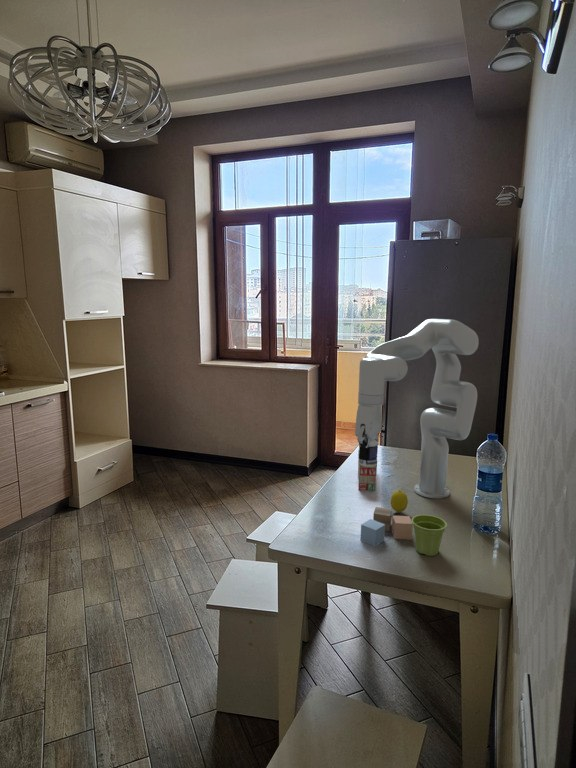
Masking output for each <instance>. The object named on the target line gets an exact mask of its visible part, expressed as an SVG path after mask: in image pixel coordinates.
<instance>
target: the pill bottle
mask: <svg viewBox="0 0 576 768" xmlns="http://www.w3.org/2000/svg"><path fill="white" fill-rule="evenodd" d="M364 437H367V435H364ZM375 439H376V435H375V436H373V437H372V438H370V442H369V448H370V457H369V460H368V461H366V460H361V459H359V464H360V465H362V466H366V467H373V466H376V464H377V465H378V452H377V447H378V448H379V446H378V445H379V442H377V441H376V440H375ZM364 440H365V441H367V439H364Z"/></svg>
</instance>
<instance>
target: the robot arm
mask: <svg viewBox="0 0 576 768" xmlns="http://www.w3.org/2000/svg"><path fill="white" fill-rule="evenodd" d="M479 342H480V341H479V336H478V334H477V332H476V331H475V330H473V329H472V328H470V327H469V326H468V325H466V324H464V323H463V322H461V321H459V320H456V319H451V318H450V319H449V318H428V319H425V320H424V321H423V322H421V323H420V324H418V325H417V326H416V327H415V328H414V329H412V330H411V331H410V332H408V333H407V334H406V335H404V336H401V337H398V338H395V339H392V340H389V341H386V342H384V343H381V344H379V345H377V346H376V347H374V348H373V349H372V350H370V351H369V352H368V353H367V354H366V355H365V356H364V357H363V358H361V359H360V361H359V368H358V369H359V370H358V371H359V373H358V395H357V396H358V397H357V404H358V405H357V411H356V417H355V426H354V427H355V428H354V435H355V437H356V440H357V442H358V452H359V459H361V460H366V461H368V460H369V457H370V448H369V442H370V438H372V437H373V436H375V435H376V439H375V440H376V441H377V443H379V441H380V440H379V436H380V433H381V431H382V425H383V407H382V406H383V405H384V400H385V399H384V398H385V382H397V381H401V380H402V379H404V378H405V377H406V375H407V374H408V370H409V369H408V364H407V362H406V361H410V360H411V361H412V360H416V359H420V358H422V357H424V355H425V354H427V352H429V351H430V350H431V351H432V352H433V354H434V358H435V362H436V363H435V365H436V366H435V372H434V376H433V381H432V386H431V390H430V391H431V392H430V398H431V401H432V402H433V403H435V404H438V405H441V406H445V407H451V408H455V409H456V411H454V410H449V409H444V408H439V407H428V408H426V409H424V410H423V411H422V412H421V414H420V419H419V420H420V421H419V423H420V424H419V425H420V432H421V446H420V447H421V448H420V458H419V459H420V462H419V475H418V476H419V477H418V483H416V484H414V485H413V486H414V487H413V491H414V492H415V493H416V495H419V496H421V497H423V498H424V497H425V498H429V499H445V498H447V497H449V496H450V490H449V488H448V487H446V486H447V473H448V464H449V463H448V462H449V461H448V460H449V450H450V449H449V443H448V441H447V439H451V440H457V441H464V440H466V439H467V438H468V437H469V435H470V432H471V429H472V425H473V420H474V416H475V412H476V408H477V402H478V389H477V388H476V386H475V385H474V384H473V383H471V382H468V381H462V380H460V377H461V370H462V365H461V361H460V360H459V357H458V355H462V356H463V355H464V356H470V355H473V354H474V353H475V352H476V351H477V350H478V348H479V345H480V343H479ZM364 435H367V437H364ZM364 439H367V441H365V440H364ZM378 449H379V446H378V447H377V453H378Z"/></svg>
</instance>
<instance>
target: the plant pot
mask: <svg viewBox="0 0 576 768" xmlns="http://www.w3.org/2000/svg"><path fill="white" fill-rule="evenodd" d="M411 521H412V523H413V528H414V538H415V539H414V540H415V550H416V551H417V552H418V553H419V554H424V555H425V556H428V557H429V556H430V557H431V556H436V555H438V553H439V551H440V547H441V543H442V538H443V534H444V533H445V530H446V528H447V526H448V523H447V522H446V521H445V520H444V519H442V518H441V517H438V516H437V515H436V516H435V515H430V514H418V515H417V514H416V515H415V516H413V517H412V518H411Z"/></svg>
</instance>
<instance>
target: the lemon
mask: <svg viewBox="0 0 576 768" xmlns="http://www.w3.org/2000/svg"><path fill="white" fill-rule="evenodd" d="M408 503H409V499H408V496H407V494H406V493H405V492H404V491H402V490H401V489H398V490H396V491H394V492H393V493H392V494H391V497H390V507H391V509H392V510H393V511H395V512H396V513H397V514H400V513H402V512H404V511H405V510H406V509H407V507H408Z"/></svg>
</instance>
